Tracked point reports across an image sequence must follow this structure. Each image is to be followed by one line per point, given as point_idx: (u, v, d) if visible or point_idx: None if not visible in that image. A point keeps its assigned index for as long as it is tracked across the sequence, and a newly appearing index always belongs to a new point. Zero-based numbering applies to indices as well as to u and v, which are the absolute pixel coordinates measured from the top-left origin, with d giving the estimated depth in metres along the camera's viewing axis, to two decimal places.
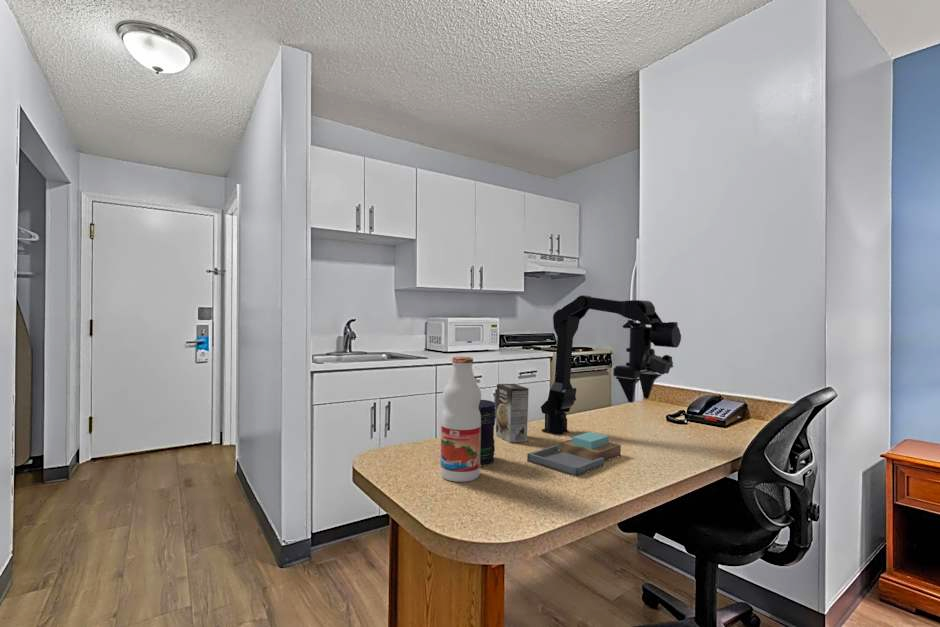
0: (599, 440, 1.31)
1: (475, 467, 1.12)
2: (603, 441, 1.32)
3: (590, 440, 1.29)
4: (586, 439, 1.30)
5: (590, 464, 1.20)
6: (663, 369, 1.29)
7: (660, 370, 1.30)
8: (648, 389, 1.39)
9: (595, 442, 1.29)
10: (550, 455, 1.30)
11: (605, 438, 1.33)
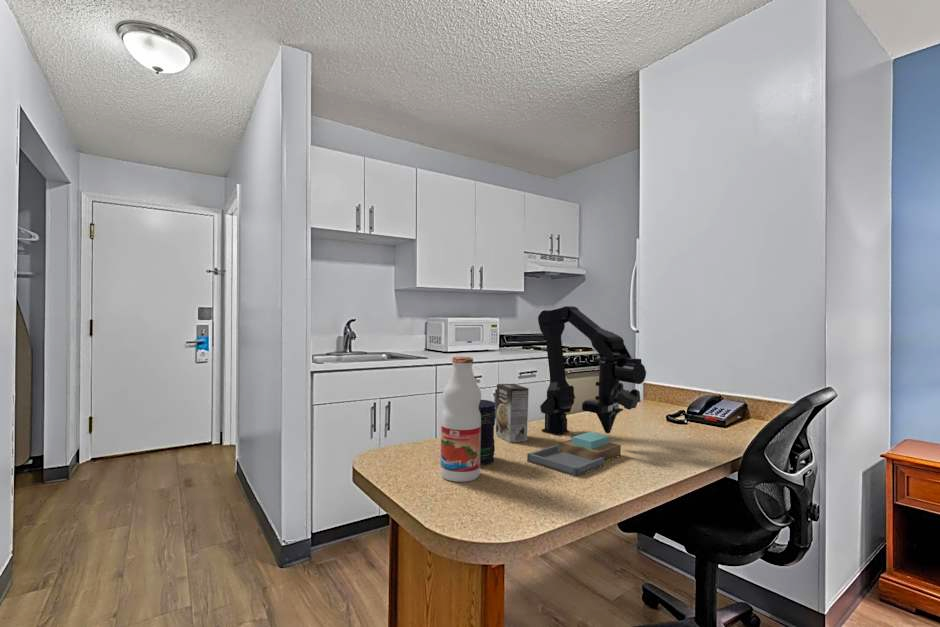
0: (599, 440, 1.31)
1: (475, 467, 1.12)
2: (603, 441, 1.32)
3: (590, 440, 1.29)
4: (586, 439, 1.30)
5: (590, 464, 1.20)
6: (630, 404, 1.32)
7: (627, 405, 1.33)
8: None
9: (595, 442, 1.29)
10: (550, 455, 1.30)
11: (605, 438, 1.33)
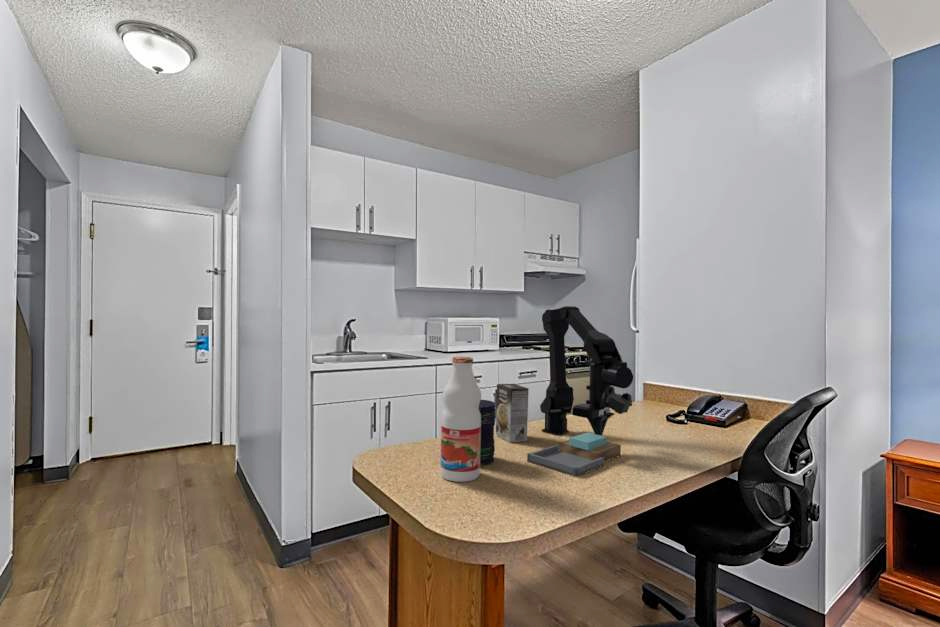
0: (596, 441, 1.30)
1: (475, 467, 1.12)
2: (600, 442, 1.31)
3: (587, 441, 1.28)
4: (583, 440, 1.29)
5: (590, 464, 1.20)
6: (621, 409, 1.29)
7: (618, 410, 1.29)
8: None
9: (592, 443, 1.29)
10: (550, 455, 1.30)
11: (602, 439, 1.32)
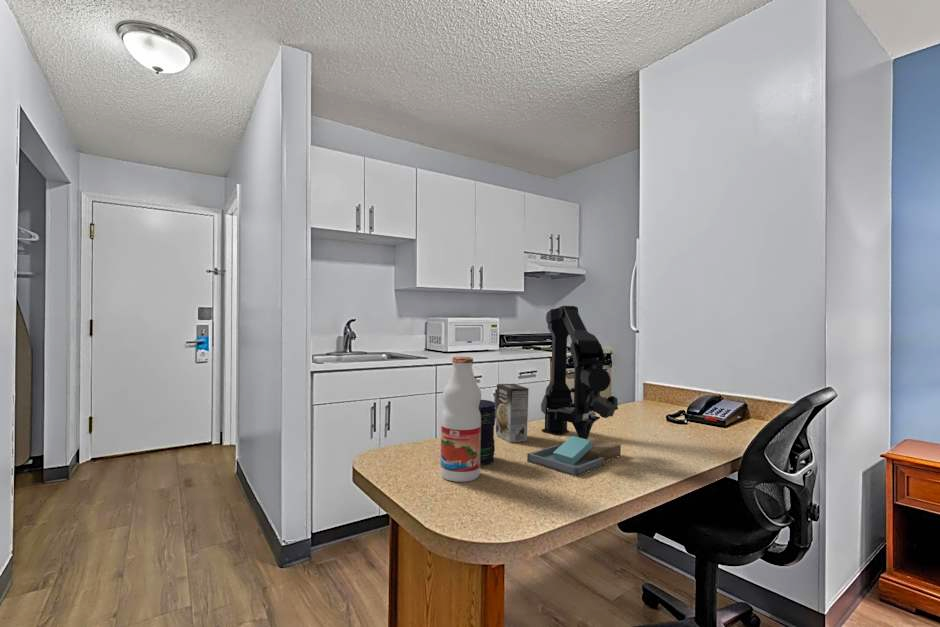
0: (581, 451, 1.25)
1: (475, 467, 1.12)
2: (585, 449, 1.26)
3: (571, 455, 1.23)
4: (567, 454, 1.24)
5: (590, 464, 1.20)
6: (606, 413, 1.24)
7: (603, 414, 1.24)
8: None
9: (577, 455, 1.23)
10: (550, 455, 1.30)
11: (587, 445, 1.27)
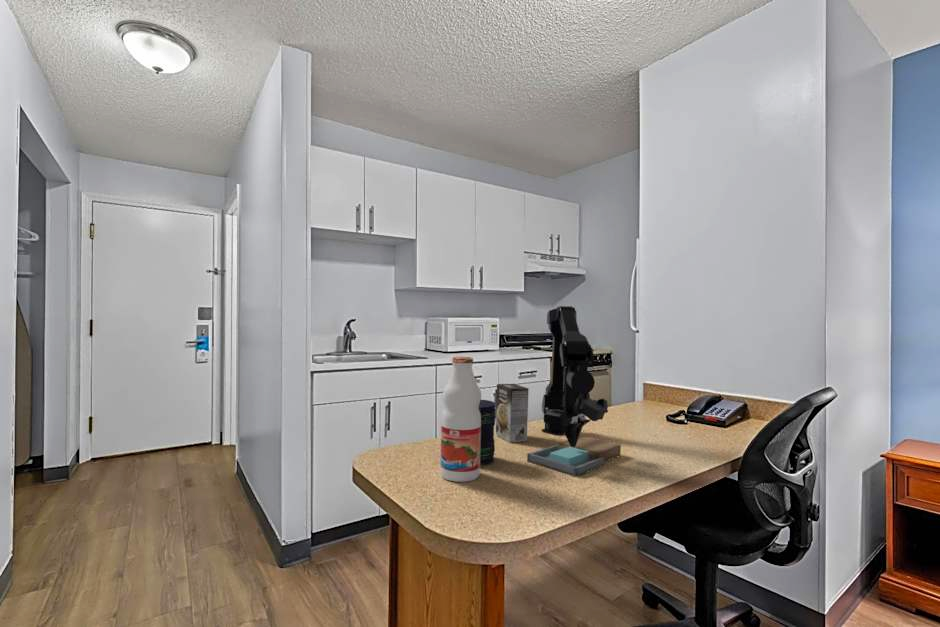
0: (578, 456, 1.24)
1: (475, 467, 1.12)
2: (582, 457, 1.25)
3: (568, 456, 1.22)
4: (564, 455, 1.23)
5: (590, 464, 1.20)
6: (595, 416, 1.20)
7: (592, 417, 1.21)
8: None
9: (573, 459, 1.23)
10: None
11: (584, 454, 1.26)
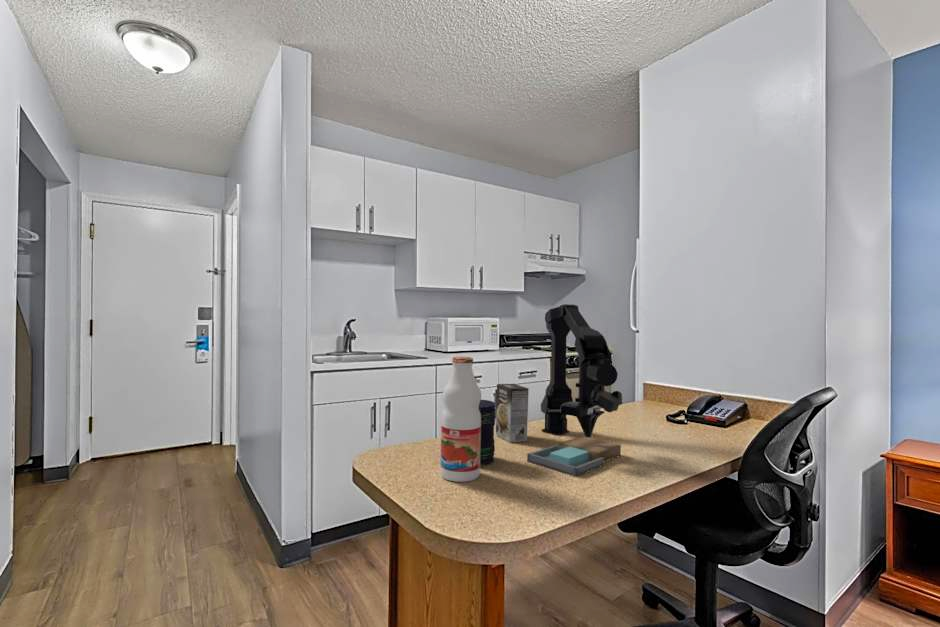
0: (578, 456, 1.24)
1: (475, 467, 1.12)
2: (582, 457, 1.25)
3: (568, 456, 1.22)
4: (564, 455, 1.23)
5: (590, 464, 1.20)
6: (610, 407, 1.25)
7: (607, 408, 1.25)
8: None
9: (573, 459, 1.23)
10: None
11: (584, 454, 1.26)
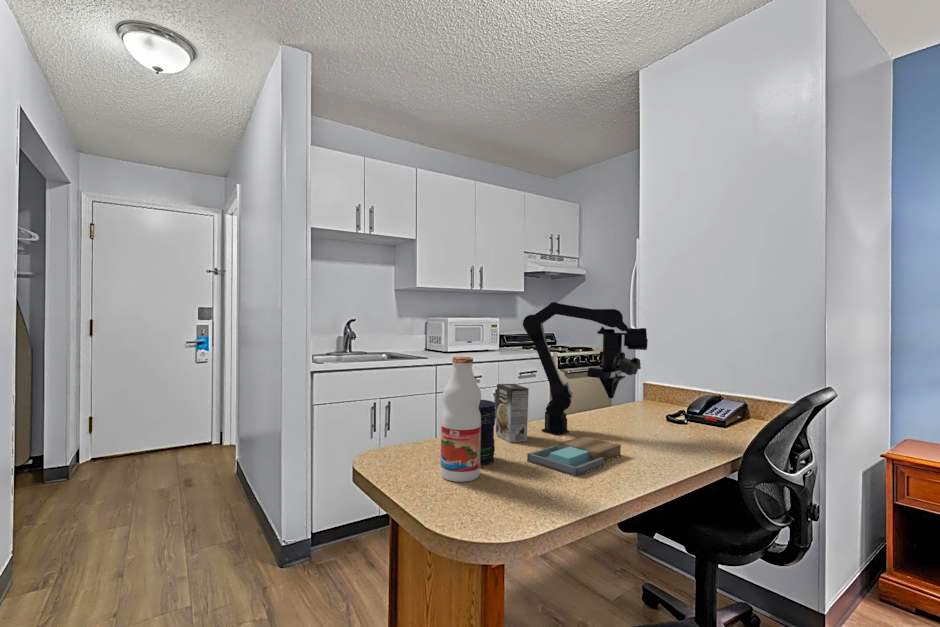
0: (578, 456, 1.24)
1: (475, 467, 1.12)
2: (582, 457, 1.25)
3: (568, 456, 1.22)
4: (564, 455, 1.23)
5: (590, 464, 1.20)
6: (630, 370, 1.46)
7: (628, 371, 1.46)
8: None
9: (573, 459, 1.23)
10: None
11: (584, 454, 1.26)
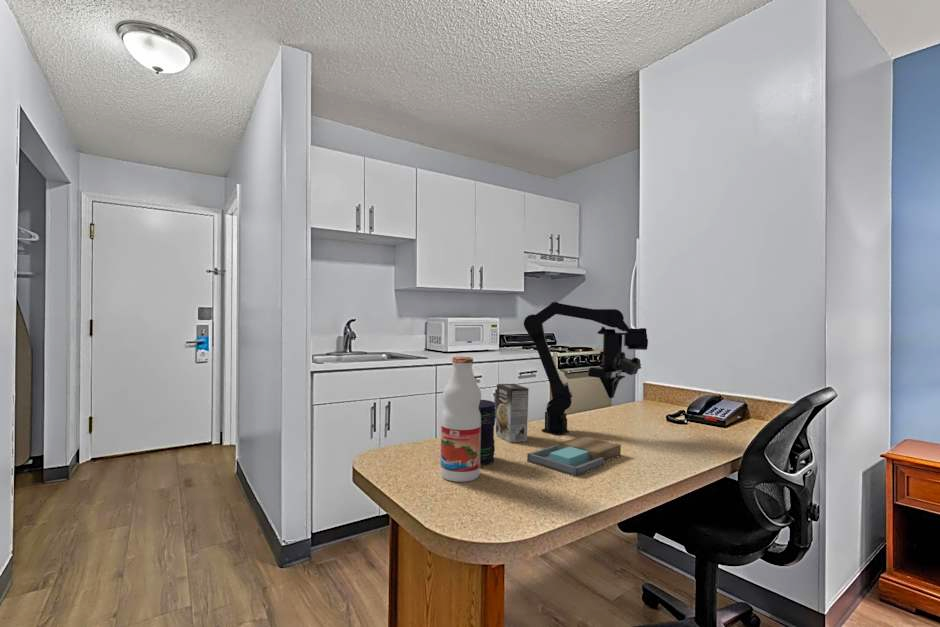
0: (578, 456, 1.24)
1: (475, 467, 1.12)
2: (582, 457, 1.25)
3: (568, 456, 1.22)
4: (564, 455, 1.23)
5: (590, 464, 1.20)
6: (631, 370, 1.47)
7: (628, 371, 1.47)
8: None
9: (573, 459, 1.23)
10: None
11: (584, 454, 1.26)
